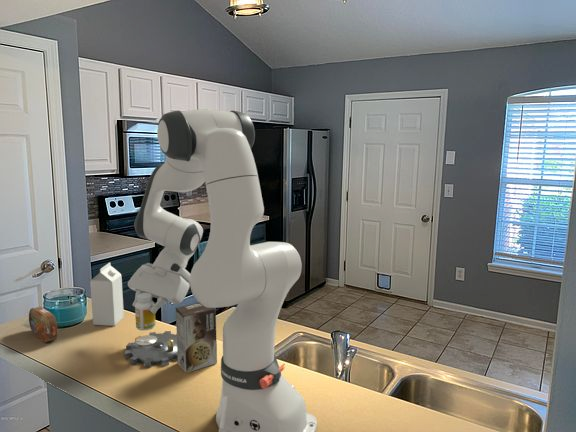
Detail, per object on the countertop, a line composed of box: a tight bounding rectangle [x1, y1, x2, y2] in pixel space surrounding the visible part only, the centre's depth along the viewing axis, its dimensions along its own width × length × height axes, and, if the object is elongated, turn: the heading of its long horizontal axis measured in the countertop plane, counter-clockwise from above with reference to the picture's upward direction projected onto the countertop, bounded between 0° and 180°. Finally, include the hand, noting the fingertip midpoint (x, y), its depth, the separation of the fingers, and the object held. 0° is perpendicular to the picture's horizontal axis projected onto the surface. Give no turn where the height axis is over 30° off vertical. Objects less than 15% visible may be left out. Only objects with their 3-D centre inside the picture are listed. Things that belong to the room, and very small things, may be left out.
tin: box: [28, 306, 58, 343], centre depth 130 cm, size 15×3×8 cm, turn 50°
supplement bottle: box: [134, 293, 156, 331], centre depth 125 cm, size 5×5×10 cm
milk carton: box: [89, 262, 125, 327], centre depth 140 cm, size 7×7×19 cm
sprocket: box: [124, 330, 178, 368], centre depth 124 cm, size 18×18×4 cm
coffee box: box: [175, 302, 218, 374], centre depth 116 cm, size 9×6×16 cm
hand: (143, 309), depth 124 cm, fingers closed on supplement bottle, 5 cm apart
